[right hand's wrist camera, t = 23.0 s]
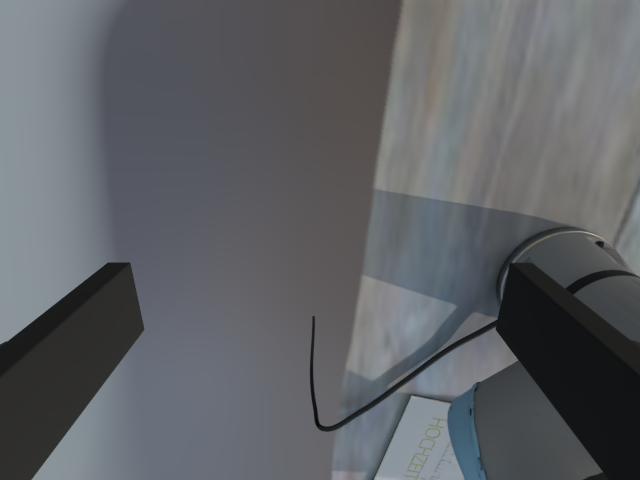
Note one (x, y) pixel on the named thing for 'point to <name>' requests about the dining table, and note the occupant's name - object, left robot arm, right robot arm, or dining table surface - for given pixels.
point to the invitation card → (421, 445)
